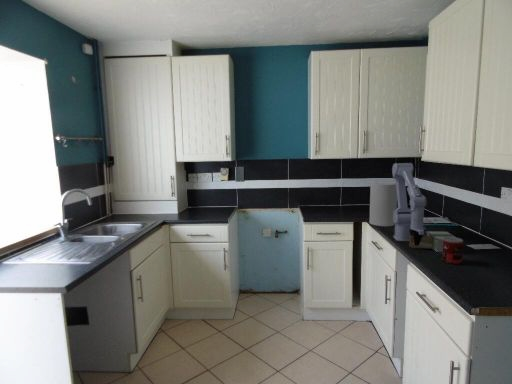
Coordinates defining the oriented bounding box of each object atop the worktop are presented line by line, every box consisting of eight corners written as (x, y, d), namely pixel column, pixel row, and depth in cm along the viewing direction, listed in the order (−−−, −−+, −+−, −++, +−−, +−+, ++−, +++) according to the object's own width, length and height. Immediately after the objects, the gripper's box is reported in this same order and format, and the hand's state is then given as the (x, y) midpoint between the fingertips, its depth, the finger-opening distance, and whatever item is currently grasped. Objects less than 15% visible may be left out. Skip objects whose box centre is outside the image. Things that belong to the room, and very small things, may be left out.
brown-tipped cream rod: (409, 246, 175) (409, 235, 174) (437, 247, 173) (437, 236, 172) (410, 248, 173) (411, 236, 172) (438, 248, 171) (439, 237, 170)
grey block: (425, 244, 179) (425, 231, 178) (446, 244, 178) (447, 231, 176) (435, 253, 165) (436, 238, 164) (458, 253, 164) (459, 239, 163)
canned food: (443, 257, 159) (444, 235, 157) (462, 261, 154) (464, 238, 152) (440, 262, 153) (441, 239, 151) (460, 266, 148) (462, 242, 146)
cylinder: (398, 226, 217) (400, 184, 213) (371, 225, 221) (372, 184, 217) (393, 220, 234) (394, 181, 230) (367, 219, 238) (368, 181, 234)
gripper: (430, 222, 163) (429, 248, 165) (420, 216, 177) (419, 240, 179) (415, 222, 164) (414, 248, 166) (406, 216, 178) (405, 240, 180)
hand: (416, 244), depth 173 cm, fingers closed on brown-tipped cream rod, 2 cm apart
